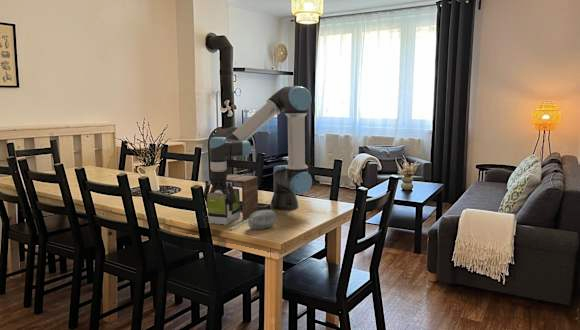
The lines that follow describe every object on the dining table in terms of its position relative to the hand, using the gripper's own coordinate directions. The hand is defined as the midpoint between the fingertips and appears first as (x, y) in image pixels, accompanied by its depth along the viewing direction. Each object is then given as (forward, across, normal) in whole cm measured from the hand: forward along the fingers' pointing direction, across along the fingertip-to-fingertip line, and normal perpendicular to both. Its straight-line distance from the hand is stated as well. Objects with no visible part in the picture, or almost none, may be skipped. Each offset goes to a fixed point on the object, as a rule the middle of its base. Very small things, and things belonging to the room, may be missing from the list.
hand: (219, 216), depth 214 cm
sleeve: (+3, 0, -16) cm, 17 cm away
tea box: (+3, 0, -5) cm, 6 cm away
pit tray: (+3, 0, -29) cm, 29 cm away
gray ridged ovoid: (+4, -22, -2) cm, 22 cm away
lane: (+3, 0, 0) cm, 3 cm away
